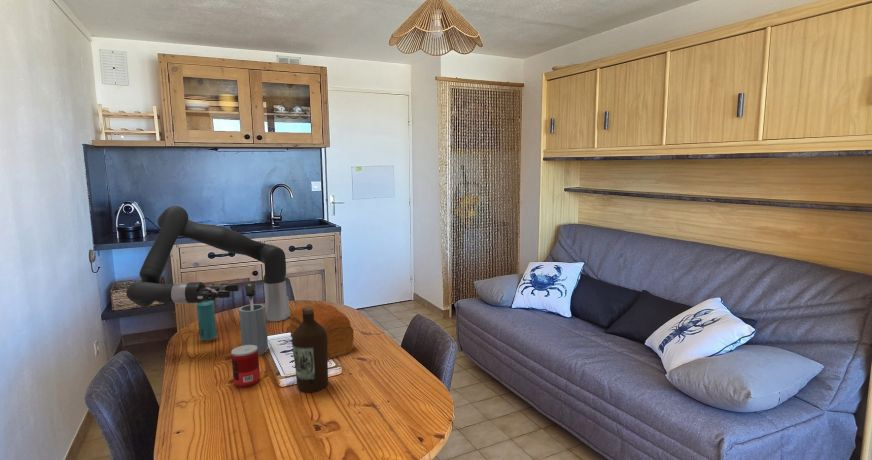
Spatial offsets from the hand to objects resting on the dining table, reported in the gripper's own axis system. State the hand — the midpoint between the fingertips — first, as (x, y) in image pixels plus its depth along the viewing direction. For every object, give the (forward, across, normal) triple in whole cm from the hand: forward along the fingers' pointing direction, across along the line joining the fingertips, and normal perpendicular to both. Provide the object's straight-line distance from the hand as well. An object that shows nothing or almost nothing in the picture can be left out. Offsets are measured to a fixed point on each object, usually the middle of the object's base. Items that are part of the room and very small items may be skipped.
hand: (234, 291), depth 173 cm
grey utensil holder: (+6, 0, +24) cm, 24 cm away
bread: (+30, +2, +24) cm, 38 cm away
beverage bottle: (-17, +14, +24) cm, 32 cm away
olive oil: (+32, -30, +24) cm, 50 cm away
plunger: (+6, 0, +22) cm, 22 cm away
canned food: (+11, -25, +24) cm, 36 cm away
